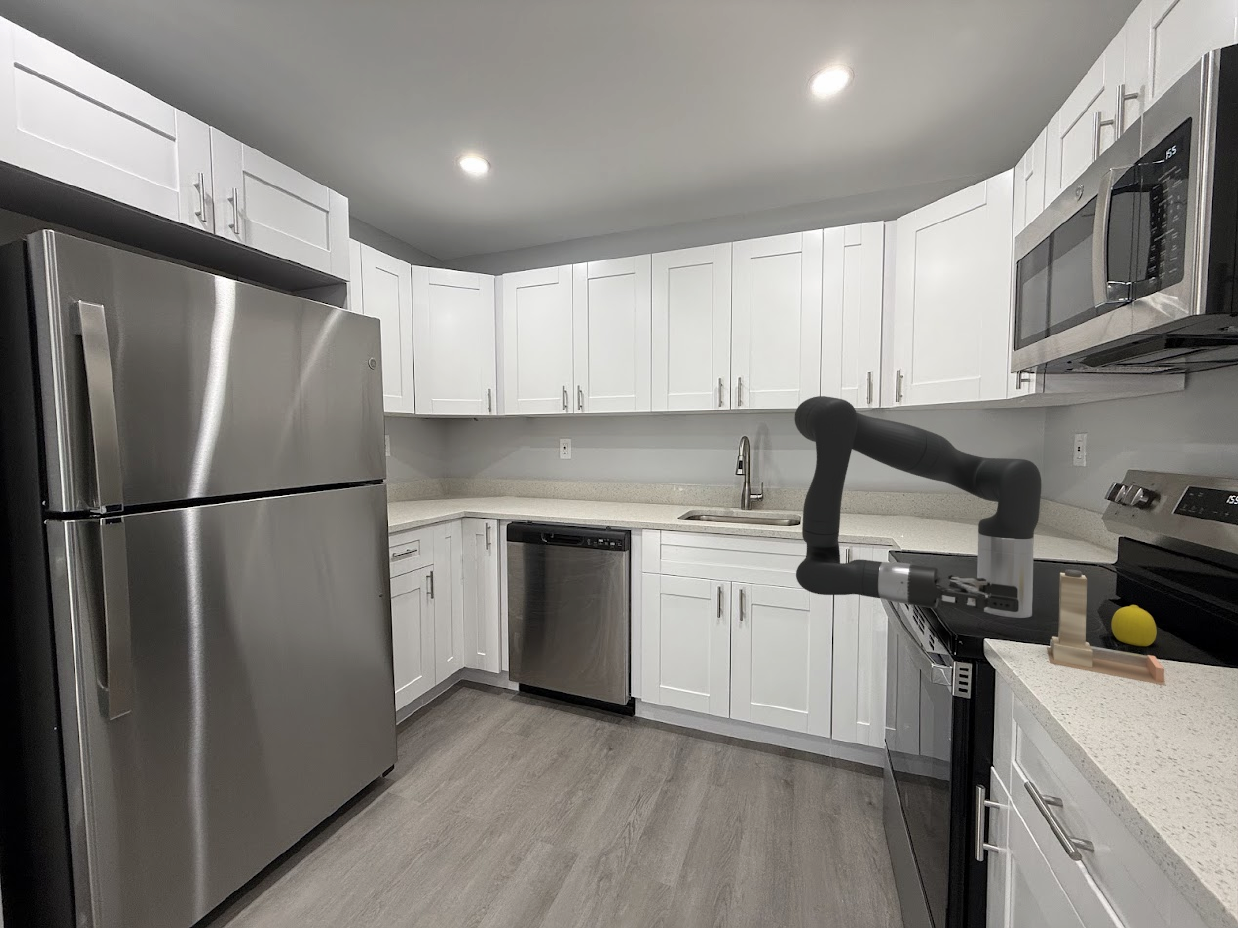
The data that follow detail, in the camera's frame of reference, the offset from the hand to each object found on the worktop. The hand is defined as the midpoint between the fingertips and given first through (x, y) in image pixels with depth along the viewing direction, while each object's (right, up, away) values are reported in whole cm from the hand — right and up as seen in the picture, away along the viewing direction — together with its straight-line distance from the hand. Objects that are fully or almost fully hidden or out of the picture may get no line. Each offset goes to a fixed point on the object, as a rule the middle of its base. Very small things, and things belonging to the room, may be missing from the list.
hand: (1017, 598), depth 85 cm
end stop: (+13, -9, -10) cm, 18 cm away
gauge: (+5, -9, -4) cm, 11 cm away
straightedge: (+10, -9, -3) cm, 14 cm away
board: (+8, -10, -6) cm, 14 cm away
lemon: (+23, -10, +3) cm, 25 cm away
